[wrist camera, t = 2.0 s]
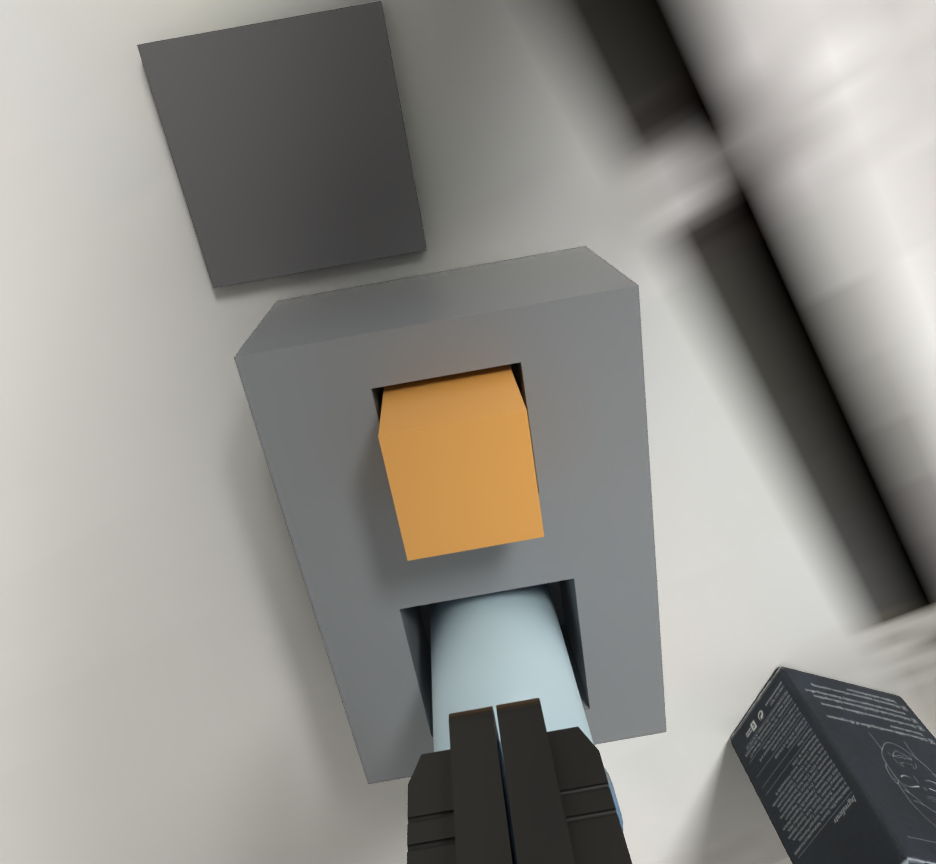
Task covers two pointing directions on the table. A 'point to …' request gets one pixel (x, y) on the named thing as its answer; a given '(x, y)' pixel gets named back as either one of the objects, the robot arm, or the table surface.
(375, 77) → the mat
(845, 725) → the box
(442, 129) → the table surface
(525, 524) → the orange rectangular block
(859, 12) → the table surface
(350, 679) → the housing
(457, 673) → the cartridge
